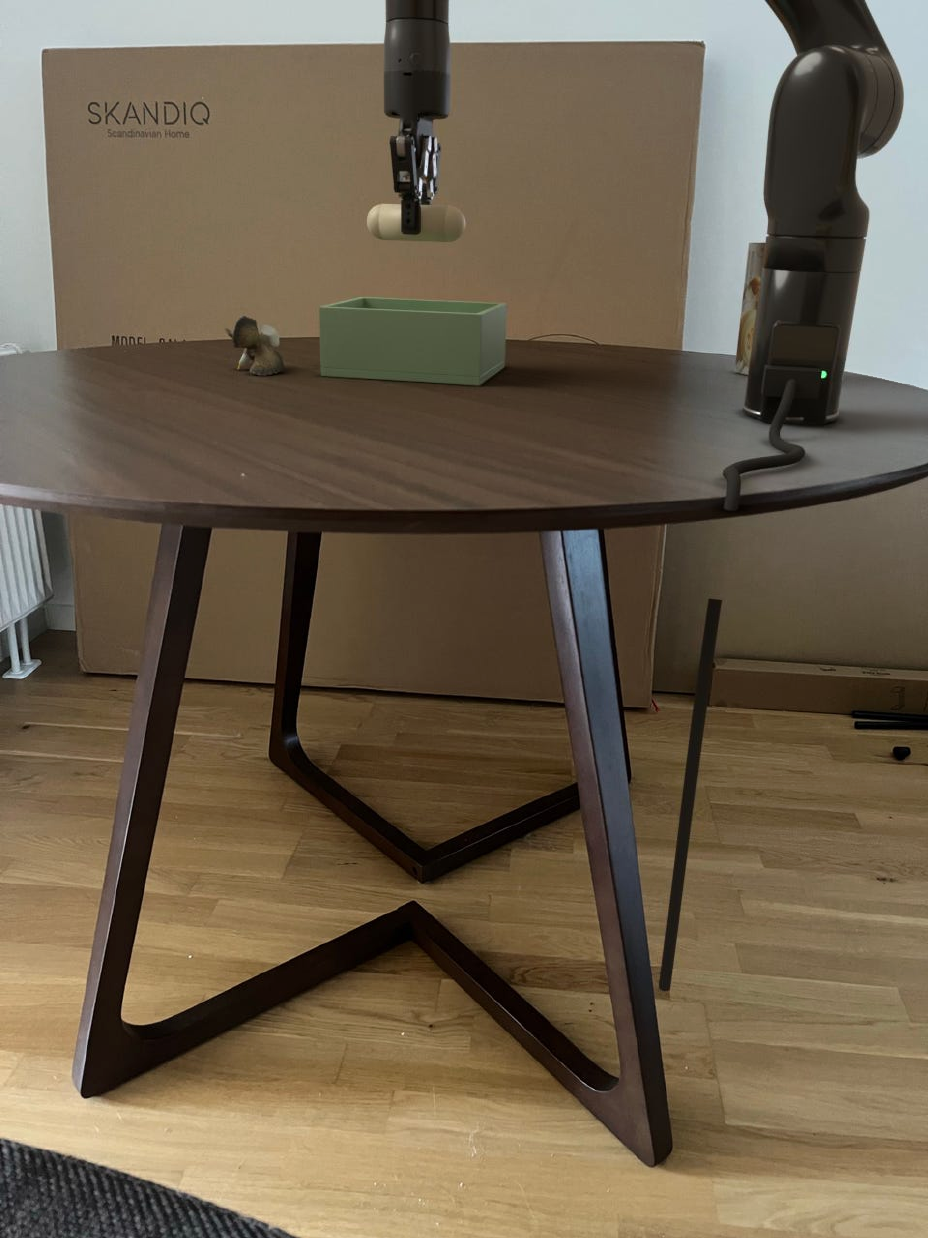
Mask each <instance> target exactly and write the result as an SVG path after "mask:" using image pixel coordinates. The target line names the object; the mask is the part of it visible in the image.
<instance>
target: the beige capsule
mask: <svg viewBox="0 0 928 1238" xmlns="http://www.w3.org/2000/svg"><path fill="white" fill-rule="evenodd" d="M466 225H467V224H466V218H465V216H464V213H463V212H462V211H461V210H460V209H459V208H457V207H456V206H453V205H441V204H431V205H421V232H420V234H418V235H405V234H403V233H402V231H401V203H380V204H377V205H375V206H373V207H372V208H371V209H370V210H369V212H368V214H367V217H366V226H367V229H368V231H369V233H370V234H371V236H373V237H374V238H376V239H378V240H382V241H404V242H433V243H453V242H456V241H457V240H459V239H460V238H461V237H462V236H463V235H464V233H465V230H466Z"/></svg>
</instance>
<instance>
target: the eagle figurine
mask: <svg viewBox="0 0 928 1238" xmlns="http://www.w3.org/2000/svg"><path fill="white" fill-rule="evenodd" d="M224 330H225V333H227V335H228V337H229V338H231V340H232V343H233V348H235V349H240V348H241V349H244V350H243V352H242V356H241V357H240V359H239V361H238V367H237V368H236V369H237V371H240V369H242V368H244V367H245V366H246V365H247V364H248V363H249V362H250V361H252V365H251V367H250V369H249V373H251V374H253V375H258V376H264V377H265V376H268V375H269V376H271V375H274V374H278V373H280V372H281V371H283V370H284V366H285V365H284V360H283V356H282V355H281V354H280V353H279V352H278V351H277V350H275V348H278V347H279V346H280V343H281V342H280V336H279V333H278V331H277V329H276V328H274V327H273V326H271V325H269V324H267V323H263V324H262V325H261V330H260V332H259V328H258V322H257V320H256V319H253V318H250V317H247V316H246V315H242V316H241V317H239V319H237V321H235V325H234V328H233V330H230V329H229V328H228V327H224Z"/></svg>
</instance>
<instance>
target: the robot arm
mask: <svg viewBox="0 0 928 1238" xmlns="http://www.w3.org/2000/svg"><path fill="white" fill-rule="evenodd" d="M764 2H765V3H766V4H767V5H768V7H769V8H770V10H771V11H772V12H773V14H774V15H775V17H776V18H777V19H778V21H779V22H780V24H781V25H782V26H783V28H784V30H785V31H786V33H787V36H788V37H789V40H790V41H791V43H792V46H793V48H794V52H795V54H796V56H795V57H794V58H793V59H792V60H791V61H790V63H789V64H788V65H787V66H786V68H785V69H784V70H783V73H782V74H781V77H780V79H779V81H778V83H777V86H776V88H775V91H774V94H773V99H772V102H771V106H770V112H769V120H768V128H767V137H766V138H767V139H766V149H765V164H764V175H763V186H762V187H763V189H762V190H763V191H762V193H763V195H762V196H763V204H764V208H765V212H766V216H767V226H766V236H765V242H764V243H765V249H764V257H763V265H762V271H761V279H760V286H759V294H758V302H757V310H756V317H755V325H754V333H753V340H752V348H751V356H750V364H749V371H748V375H747V381H746V388H745V396H744V403H743V405H742V413H743V414H744V415H747V416H749V417H752V418H755V419H758V420H759V421H760V422H769V423H770V422H771V424H770V427H769V431H768V440H769V443H770V445H771V446H772V447H773V448H775V449H776V450H778V451H780V452H783V453H782V454H775V455H769V456H760V457H754V458H748V459H743V460H740V461H739V460H738V461H736V462H734V463H732V464H730V465H728V466H726V467H725V468H724V469H723V470H722V476H723V477H724V479H725V480H726V491H725V497H724V498H725V499H724V503H723V504H724V505H723V509H724V510H726V511H737V510H739V505H740V500H741V499H740V498H741V491H742V479H741V475H742V474H745V473H748V472H753V471H761V470H767V469H775V468H781V467H787V466H791V465H795V464H797V463H800V462H801V461H802V460H803V459H804V458H805V455H806V450H805V448H804V447H803V446H801V445H799V444H795V443H790V442H787V441H785V440H783V439H782V437H781V432H782V428H783V425H784V423H786V424H787V423H788V424H802V425H816V426H817V425H818V426H825V425H826V424H827V423H830V422H831V423H832V422H835V421H837V420H838V417H839V406H840V399H841V394H842V388H843V382H844V375H845V368H846V362H847V357H848V351H849V344H850V338H851V332H852V326H853V319H854V314H855V307H856V302H857V296H858V291H859V285H860V284H859V283H860V279H861V272H862V266H863V260H864V255H865V249H866V242H867V239H866V238H867V236H868V232H869V227H870V226H869V225H870V217H871V211H870V208H869V206H868V204H867V203H866V202H865V201H864V199H863V198H862V197H861V194H860V192H859V189H858V185H857V179H856V178H857V165H858V161H859V160H863V159H867V158H870V157H871V156H874V155H875V154H877V153H878V152H880V151H881V150H883V149H884V148H885V147H886V146H887V145H888V144H889V142H890V141H891V140H892V139H893V137H894V135H895V134H896V131H897V130H898V128H899V125H900V122H901V119H902V116H903V111H904V105H905V104H904V102H905V91H904V85H903V81H902V79H903V78H902V77H901V74H900V71H899V68H898V66H897V63H896V61H895V59H894V58H893V55H892V53H891V50H890V49H889V47H888V44H887V43H886V41H885V38H884V37H883V34H882V32H881V31H880V29H879V27H878V25H877V22H876V21H875V19H874V16H873V15H872V12H871V10H870V8H869V6H868V3H867V0H764ZM384 3H385V30H384V39H383V113H384V115H385V116H386V117H388V118H391V119H398V120H399V125H398V130H397V131H398V133H397V135H394V136H393V135H391V136H390V138H389V148H390V158H391V159H390V160H391V169H392V181H393V191H394V193H395V194H397V195H398V198H399V199H398V200H400V204H401V231H402V233H403V234H405V235H418V234H420V232H421V205H432V201H433V200H434V197H435V195H437V194H438V190H439V188H438V187H439V186H438V185H439V175H440V165H441V163H440V162H441V153H442V145H441V142H438V138H437V136H435V131H434V125H433V123H434V121H436V120H445V119H447V118H448V117H449V116H450V113H451V57H452V55H451V53H452V50H451V49H452V48H451V39H450V26H449V24H450V22H449V21H450V15H449V14H450V0H385V2H384ZM407 180H408V181H407ZM423 181H425V182H423ZM722 604H723V599H717V598H708V600H707V607H706V613H705V621H704V626H703V627H704V628H703V634H702V641H701V647H700V655H699V663H698V670H697V677H696V686H695V690H694V691H695V692H694V700H693V707H692V714H691V715H692V716H691V721H690V722H691V723H690V730H689V740H688V746H687V753H686V762H685V771H684V778H683V786H682V787H683V788H682V795H681V803H680V804H681V805H680V810H679V820H678V827H677V836H676V845H675V851H674V852H675V853H674V861H673V869H672V876H671V884H670V885H671V886H670V892H669V893H670V894H669V901H668V910H667V916H666V926H665V932H664V933H665V934H664V942H663V949H662V956H661V957H662V958H661V964H660V965H661V966H660V974H659V980H658V989H659V990H660V991H662V992H669V991H670V990H671V985H672V979H673V970H674V963H675V956H676V947H677V940H678V931H679V924H680V919H681V908H682V901H683V895H684V894H683V893H684V886H685V879H686V871H687V863H688V856H689V855H688V854H689V846H690V840H691V832H692V823H693V816H694V807H695V799H696V792H697V783H698V776H699V769H700V762H701V761H700V760H701V752H702V748H703V747H702V746H703V739H704V730H705V723H706V716H707V710H708V709H707V708H708V702H709V701H708V700H709V694H710V686H711V680H712V673H713V666H714V659H715V658H714V657H715V652H716V645H717V638H718V631H719V623H720V617H721V611H722Z"/></svg>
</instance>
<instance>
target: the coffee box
mask: <svg viewBox="0 0 928 1238" xmlns="http://www.w3.org/2000/svg"><path fill="white" fill-rule="evenodd" d="M764 249H765V242H748V249H747V258H746V266H745V275H744V283H743V293H742V301H741V311H740V319H739V329H738V336H737V337H738V338H737V345H736V353H735V360H734V361H735V363H734V370H733V371H734V373H735V374H739V375H740V374H741V375H745V376H748V371H749V364H750V356H751V348H752V340H753V333H754V325H755V317H756V310H757V302H758V294H759V286H760V279H761V271H762V265H763V257H764Z"/></svg>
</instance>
